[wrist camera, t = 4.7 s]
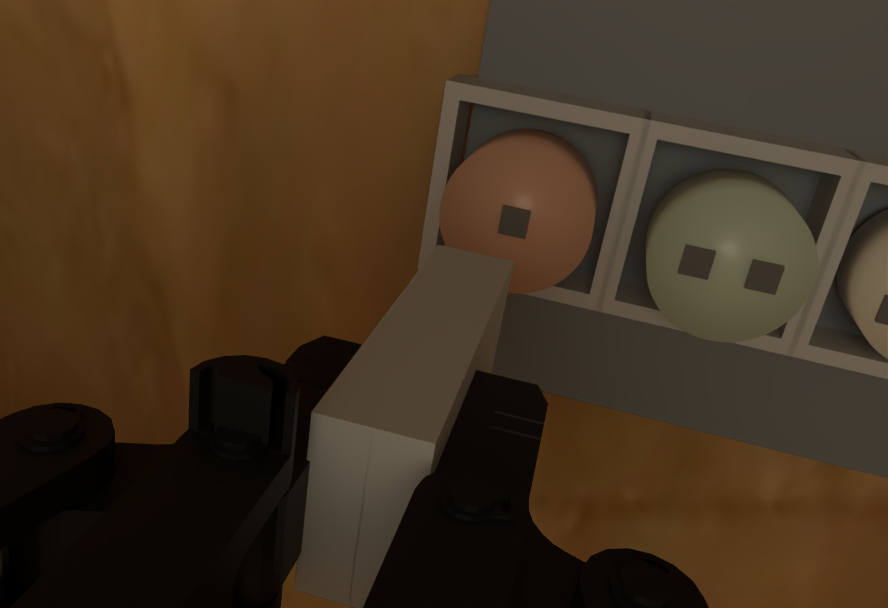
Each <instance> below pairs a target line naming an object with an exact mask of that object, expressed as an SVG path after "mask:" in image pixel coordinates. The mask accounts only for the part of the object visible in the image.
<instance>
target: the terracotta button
mask: <svg viewBox="0 0 888 608" xmlns="http://www.w3.org/2000/svg"><path fill="white" fill-rule="evenodd" d="M597 206H598V193H597V185H596V181H595V178H594V175H593V172H592V170H591V168H590V166H589V164H588V163H587V161H586V160H585V158H584V157H583V156H582V154H581V153H580V152H579V151H578V150H577V149H576V148H575V147H574V146H573V145H571V144H570V143H569V142H568V141H566V140H564V139H563V138H561V137H559V136H557V135H555V134H552V133H550V132H546V131H543V130H537V129H516V130H510V131H507V132H503V133H501V134H498V135H496V136H494V137H492V138H491V139H489V140H487V141H486V142H485V143H483V144H482V145H481V146H480V147H478V148H477V149H476V150H475V151H474V152H473V153H472V154H471V155H470V156H469V157H468V158H467V159H466V160H465V161H464V162H463V163H462V164H461V165H460V166H459V167H458V168H457V169H456V170H455V172H454V173H453V175H452V176H451V177H450V179H449V181H448V183H447V185H446V187H445V189H444V192H443V195H442V199H441V203H440V212H439V220H440V229H441V234H442V237H443V241H444V244H445V246H446V247H451V248H455V249H460V250H464V251H469V252H474V253H478V254H483V255H487V256H492V257H496V258H501V259H505V260H510V261H514V264H513V269H512V274H511V279H510V284H509V289H508V293H514V294H523V293H532V292H537V291H541V290H544V289H547V288H549V287H551V286H553V285H555V284H557V283H559V282H560V281H562V280H563V279H565V278H566V277H567V276H568V275H569V274H571V273H572V272H573V271H574V270H575V268H576V267H577V266H578V265H579V264H580V262H581V261H582V259H583V257H584V256H585V254H586V252H587V250H588V248H589V244H590V241H591V238H592V233H593V228H594V223H595V217H596V212H597Z"/></svg>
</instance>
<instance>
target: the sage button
mask: <svg viewBox="0 0 888 608" xmlns="http://www.w3.org/2000/svg"><path fill="white" fill-rule="evenodd" d="M817 268H818V255H817V249H816V244H815V241H814V238H813V235H812V233H811V231H810V229H809V227H808V226H807V224H806V223H805V221H804V220H803V218H802V217H801V216H800V214H799V213H798V212H797V210H796V209H795V207H794V206H793V205H792V203H791V202H790V201H789V199H788V198H787V196H786V195H785V194H784V193H783V192H782V191H781V190H780V189H779V188H778V187H777V186H775V185H774V184H773V183H772V182H770V181H768V180H766V179H765V178H763V177H761V176H758V175H756V174H754V173H750V172H746V171H741V170H734V169H721V170H712V171H708V172H704V173H701V174H698V175H695V176H692V177H690V178H689V179H687V180H685V181H683V182H681V183H680V184H678V185H677V186H675V187H674V188H673V189H672V190H671V191H670V192H668V193H667V194H666V196H665V197H664V198H663V199H662V200H661V201H660V203H659V204H658V206H657V207H656V209H655V210H654V212H653V214H652V216H651V219H650V222H649V224H648V228H647V233H646V272H647V282H648V286H649V290H650V292H651V295H652V298H653V300H654V301H655V303H656V305H657V307H658V308H659V309H660V311H661V312H662V313H663V315H664V316H665V317H666V318H667V319H668V320H669V321H670V322H671V323H673V324H674V325H675V326H677V327H678V328H680V329H681V330H683V331H685V332H686V333H688V334H691V335H693V336H695V337H698V338H702V339H705V340H710V341H716V342H740V341H746V340H751V339H754V338H758V337H761V336H763V335H766V334H768V333H770V332H772V331H774V330H776V329H777V328H779V327H781V326H782V325H783V324H785V323H786V322H787V321H789V320H790V319H791V318H792V317H793V316H794V315H795V314H796V313H797V312H798V311H799V310H800V308H801V307H802V306H803V305H804V303H805V302H806V300H807V298H808V297H809V295H810V293H811V291H812V288H813V286H814V283H815V279H816V275H817Z"/></svg>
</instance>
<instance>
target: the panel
mask: <svg viewBox="0 0 888 608" xmlns="http://www.w3.org/2000/svg"><path fill="white" fill-rule="evenodd" d="M471 102H472V103H473V109H472V115H471V120H470V126H469V132H468V138H467V144H466V150H465V156H464V161H465V160H466V159H467V158H468V157H469V156H470V155H471V154H472V153H473V152H474V151H475V150H476V149H477V148H478V147H480V146H481V145H482V144H483V143H485V142H486V141H487V140H489V139H491V138H492V137H494V136H496V135H498V134H501V133H503V132H507V131H510V130H516V129H537V130H543V131H546V132H550V133H552V134H555V135H557V136H559V137H561V138H563V139H564V140H566V141H568V142H569V143H570V144H571V145H573V146H574V147H575V148H576V149H577V150H578V151H579V152H580V153H581V154H582V156H583V157H584V158H585V160H586V161H587V163H588V164H589V166H590V168H591V170H592V172H593V175H594V178H595V181H596V185H597V193H598V206H597V212H596V217H595V223H594V228H593V233H592V238H591V241H590V244H589V248H588V250H587V252H586V254H585V256H584V257H583V259H582V261H581V262H580V264H579V265H578V266H577V267H576V268H575V270H574V271H573V272H572V273H571V274H569V275H568V276H567V277H566V278H565V279H563V280H562V281H560V282H559V283H557V284H555V285H553V286H551V287H549V288H547V289H544V290H541V291H537V292H532V293H523V294H514V293H508V294H507V299H506V304H505V309H504V314H503V319H502V324H501V329H500V334H499V339H498V344H497V349H496V353H495V358H494V363H493V368H492V373H491V374H495V375H499V376H503V377H507V378H511V379H515V380H520V381H524V382H528V383H532V384H536V385H538V386H539V388H540V390H541V391H543V392H547V393H551V394H555V395H559V396H563V397H567V398H571V399H575V400H579V401H583V402H587V403H591V404H595V405H599V406H603V407H607V408H611V409H615V410H619V411H623V412H627V413H631V414H635V415H639V416H643V417H647V418H651V419H655V420H659V421H663V422H667V423H671V424H674V425H678V426H682V427H686V428H690V429H694V430H698V431H702V432H706V433H710V434H714V435H718V436H722V437H726V438H730V439H734V440H738V441H742V442H746V443H750V444H754V445H758V446H762V447H766V448H770V449H774V450H778V451H782V452H786V453H790V454H794V455H798V456H802V457H806V458H810V459H814V460H818V461H822V462H826V463H829V464H833V465H837V466H841V467H845V468H849V469H853V470H857V471H861V472H865V473H869V474H873V475H877V476H881V477H885V478H888V359H887V358H885V357H884V356H883V355H881V354H880V353H879V352H877V351H876V350H875V349H874V348H873V347H872V345H871V344H870V343H869V342H868V340H867V339H866V337H865V336H864V334H863V333H862V331H861V330H860V328H859V327H858V325H857V324H856V322H855V321H854V319H853V318H852V316H851V315H850V313H849V312H848V310H847V309H846V307H845V306H844V304H843V302H842V300H841V298H840V295H839V291H838V287H837V269H838V266H839V263H840V261H841V258H842V256H843V253H844V250H845V248H846V245H847V243H848V241H849V239H850V238H851V237H852V235H853V234H854V233H855V232H856V231H857V230H858V229H859V228H860V227H861V226H862V225H863V224H864V223H865V222H867V221H868V220H869V219H871V218H872V217H874V216H875V215H877V214H879V213H880V212H882V211H885V210H887V209H888V0H491V2H490V8H489V14H488V20H487V26H486V32H485V38H484V44H483V49H482V55H481V61H480V67H479V73H478V77H473V76H468V75H463V74H459V75H457V76H454V77H452V78H450V79H448V80H446V85H445V92H444V98H443V105H442V111H441V118H440V124H439V131H438V137H437V144H436V150H435V157H434V163H433V170H432V176H431V183H430V189H429V196H428V202H427V209H426V215H425V222H424V229H423V235H422V242H421V248H420V255H419V261H418V268H417V269H420V268H421V266H422V265H423V264H424V262H425V261H426V260H427V258H428V257H429V256H430V255H431V253H432V252H433V251H434V249H435V248H436V247H437V245H442V246H445V244H444V241H443V237H442V234H441V229H440V220H439V212H440V203H441V199H442V195H443V192H444V189H445V187H446V185H447V183H448V181H449V179H450V177H451V176H452V175H453V173H454V172H455V170H456V169H457V168H458V167H459V166H460V162H461V156H462V150H463V144H464V138H465V132H466V126H467V120H468V114H469V108H470V103H471ZM721 169H734V170H741V171H746V172H750V173H754V174H756V175H758V176H761V177H763V178H765V179H766V180H768V181H770V182H772V183H773V184H774V185H775V186H777V187H778V188H779V189H780V190H781V191H782V192H783V193H784V194H785V195H786V196H787V198H788V199H789V201H790V202H791V203H792V205H793V206H794V207H795V209H796V210H797V212H798V213H799V214H800V216H801V217H802V218H803V220H804V221H805V223H806V224H807V226H808V227H809V229H810V231H811V233H812V235H813V238H814V241H815V244H816V249H817V255H818V268H817V275H816V279H815V283H814V286H813V288H812V291H811V293H810V295H809V297H808V298H807V300H806V302H805V303H804V305H803V306H802V307H801V308H800V310H799V311H798V312H797V313H796V314H795V315H794V316H793V317H792V318H791V319H790V320H789V321H787V322H786V323H785V324H783V325H782V326H781V327H779V328H777V329H776V330H774V331H772V332H770V333H768V334H766V335H763V336H761V337H758V338H754V339H751V340H746V341H740V342H716V341H710V340H705V339H702V338H698V337H695V336H693V335H691V334H688V333H686V332H685V331H683V330H681V329H680V328H678V327H677V326H675V325H674V324H673V323H671V322H670V321H669V320H668V319H667V318H666V317H665V316H664V315H663V313H662V312H661V311H660V309H659V308H658V307H657V305H656V303H655V301H654V300H653V298H652V295H651V292H650V290H649V286H648V282H647V272H646V233H647V228H648V224H649V222H650V219H651V216H652V214H653V212H654V210H655V209H656V207H657V206H658V204H659V203H660V201H661V200H662V199H663V198H664V197H665V196H666V194H667V193H668V192H670V191H671V190H672V189H673V188H674V187H675V186H677V185H678V184H680V183H681V182H683V181H685V180H687V179H689V178H690V177H692V176H695V175H698V174H701V173H704V172H708V171H712V170H721Z"/></svg>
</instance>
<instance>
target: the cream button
mask: <svg viewBox="0 0 888 608" xmlns="http://www.w3.org/2000/svg"><path fill="white" fill-rule="evenodd" d="M837 287H838V291H839V295H840V298H841V300H842V302H843V304H844V306H845V307H846V309H847V310H848V312H849V313H850V315H851V316H852V318H853V319H854V321H855V322H856V324H857V325H858V327H859V328H860V330H861V331H862V333H863V334H864V336H865V337H866V339H867V340H868V342H869V343H870V344H871V345H872V347H873V348H874V349H875V350H876V351H877V352H879V353H880V354H881V355H883V356H884V357H885V358H887V359H888V209H887V210H885V211H882V212H880V213H879V214H877V215H875V216H874V217H872V218H871V219H869V220H868V221H867V222H865V223H864V224H863V225H862V226H861V227H860V228H859V229H858V230H857V231H856V232H855V233H854V234H853V235H852V237H851V238H850V239H849V241H848V243H847V245H846V248H845V250H844V253H843V256H842V258H841V261H840V263H839V266H838V269H837Z"/></svg>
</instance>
